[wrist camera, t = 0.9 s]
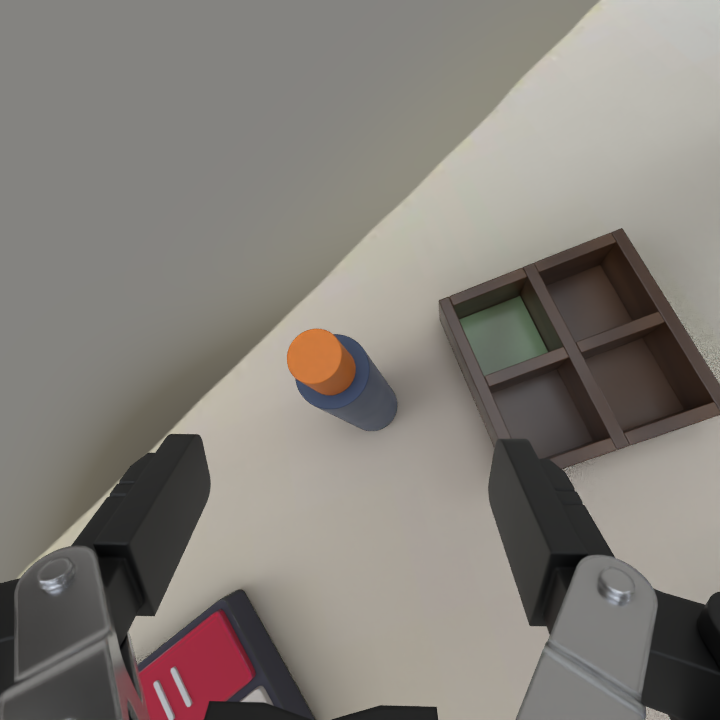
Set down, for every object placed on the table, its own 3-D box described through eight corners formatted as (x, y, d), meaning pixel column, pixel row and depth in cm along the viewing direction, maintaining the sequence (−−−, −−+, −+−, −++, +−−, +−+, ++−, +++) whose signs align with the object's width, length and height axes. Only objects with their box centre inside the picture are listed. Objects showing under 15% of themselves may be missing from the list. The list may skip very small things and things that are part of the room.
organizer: (602, 256, 33) (622, 227, 29) (698, 417, 29) (736, 409, 25) (439, 319, 34) (438, 300, 30) (509, 482, 30) (517, 483, 26)
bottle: (387, 373, 34) (341, 300, 20) (404, 420, 33) (369, 380, 18) (340, 390, 34) (262, 332, 20) (356, 438, 33) (285, 412, 19)
